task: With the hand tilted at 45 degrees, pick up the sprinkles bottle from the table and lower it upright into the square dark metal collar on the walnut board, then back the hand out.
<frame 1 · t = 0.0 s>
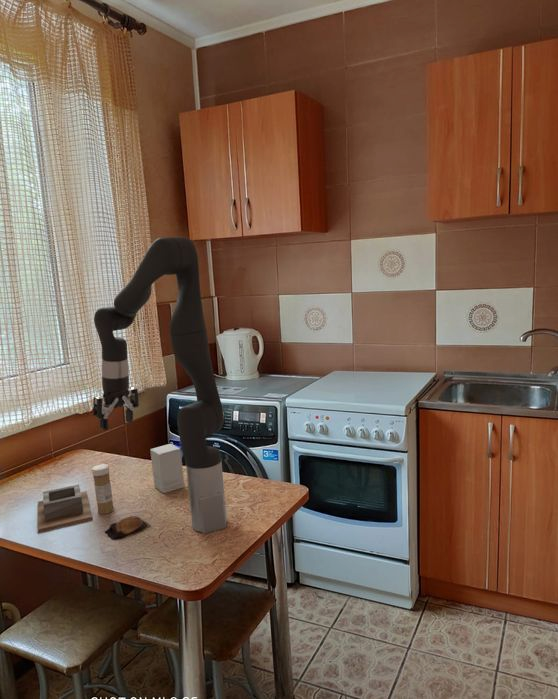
hand: (117, 425, 164), 22 cm above the table, tool pointing down, fingers open, 8 cm apart
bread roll: (128, 531, 147), on the table
collar board: (64, 512, 160), on the table
sprinkles bottle: (106, 511, 159), on the table
supplement box: (169, 487, 173), on the table
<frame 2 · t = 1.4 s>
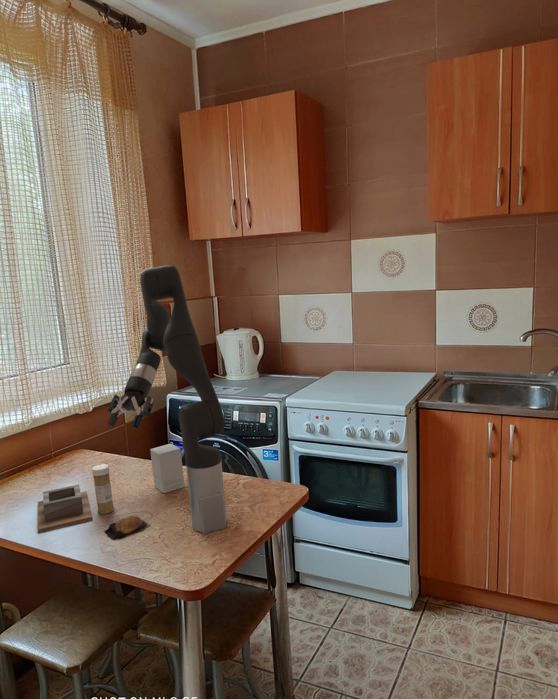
hand: (122, 427, 166), 21 cm above the table, tool tilted 45°, fingers open, 8 cm apart
nothing on the table moved.
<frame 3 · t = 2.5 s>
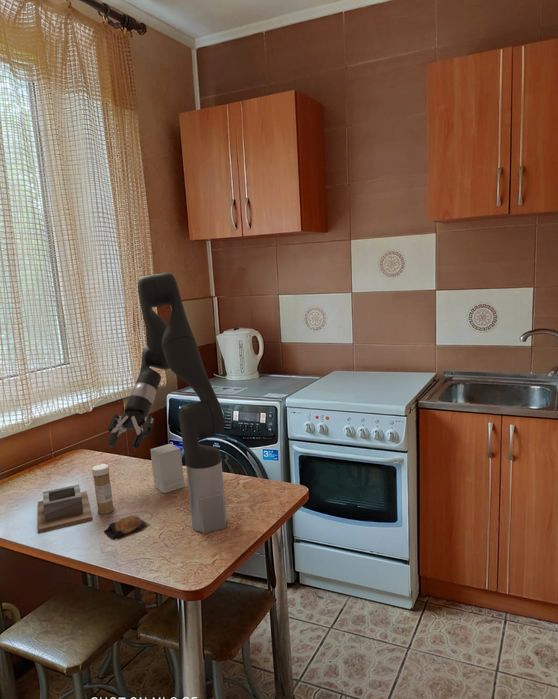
hand: (122, 447, 166), 16 cm above the table, tool tilted 45°, fingers open, 8 cm apart
nothing on the table moved.
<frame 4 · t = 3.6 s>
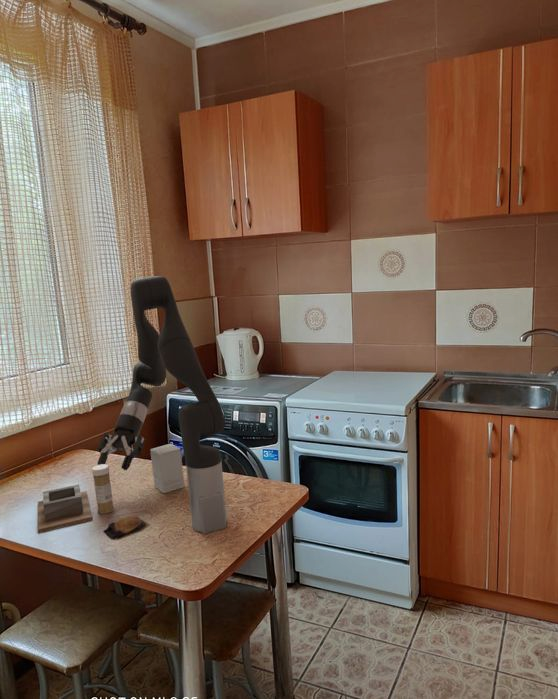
hand: (112, 468, 161), 11 cm above the table, tool tilted 45°, fingers open, 8 cm apart
nothing on the table moved.
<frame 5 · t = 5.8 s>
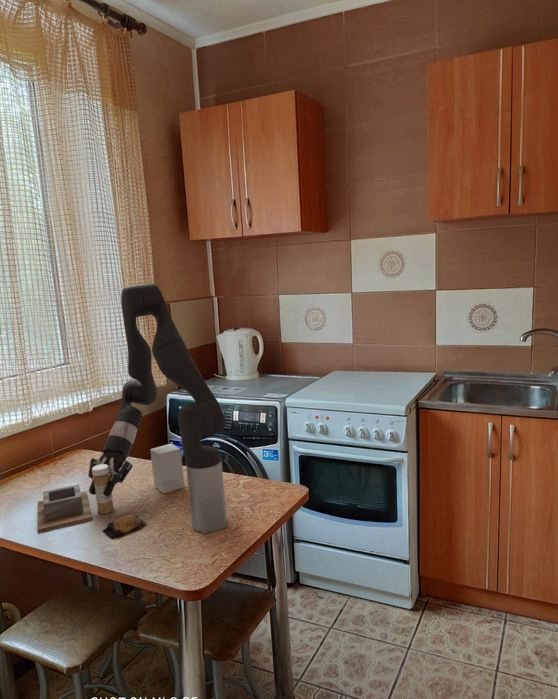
hand: (99, 494, 156), 6 cm above the table, tool tilted 45°, fingers closed on sprinkles bottle, 4 cm apart
sprinkles bottle: (106, 511, 159), on the table, touching gripper
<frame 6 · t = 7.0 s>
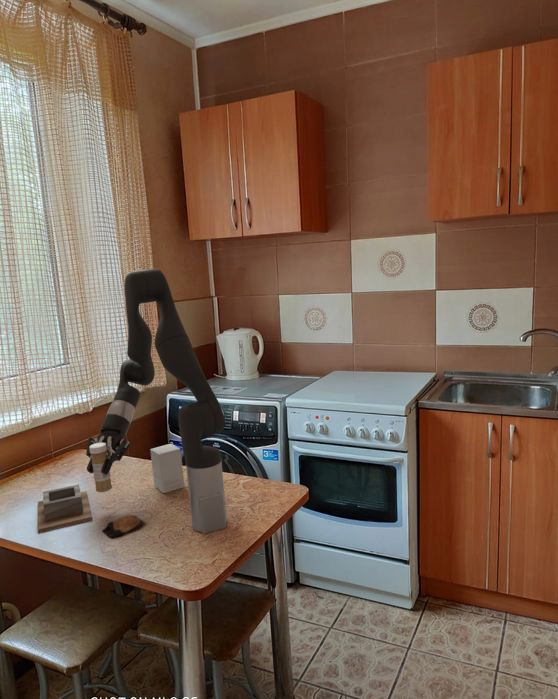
hand: (96, 472, 155), 12 cm above the table, tool tilted 45°, fingers closed on sprinkles bottle, 4 cm apart
sprinkles bottle: (104, 490, 157), point 6 cm above the table, touching gripper
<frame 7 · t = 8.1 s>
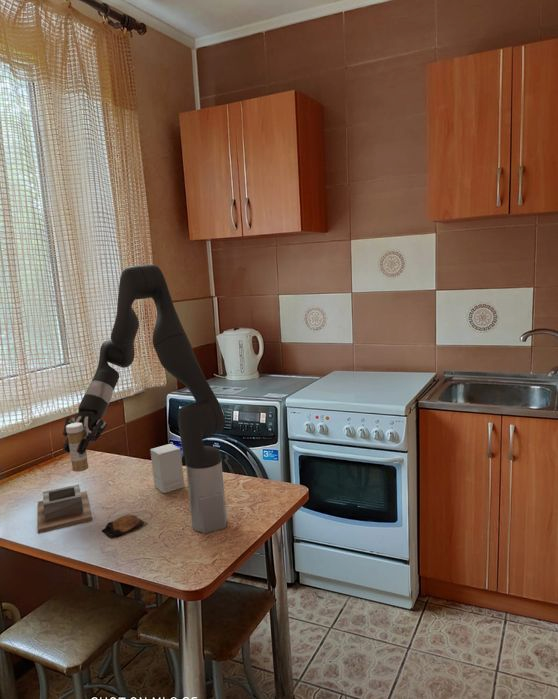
hand: (72, 452, 155), 18 cm above the table, tool tilted 45°, fingers closed on sprinkles bottle, 4 cm apart
sprinkles bottle: (80, 469, 158), point 12 cm above the table, touching gripper
when the fingers open (8 cm above the table, at t = 11.2 s): sprinkles bottle drops 1 cm, resting on collar board.
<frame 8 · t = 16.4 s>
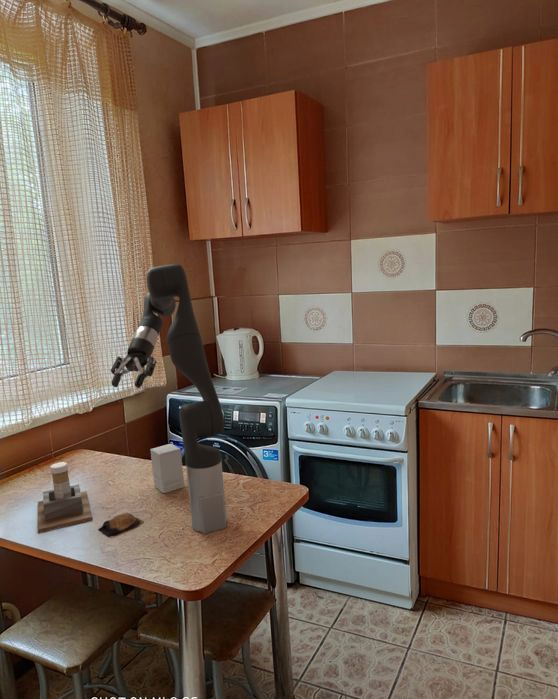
hand: (125, 386, 169), 33 cm above the table, tool tilted 45°, fingers open, 8 cm apart
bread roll: (121, 528, 149), on the table
sprinkles bottle: (65, 509, 160), point 1 cm above the table, touching collar board
everything else where it was.
at the end: sprinkles bottle 0.3 cm off-centre on the collar board, point 0.8 cm above the collar board's base; sprinkles bottle tilted 0°; the gripper is holding nothing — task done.
